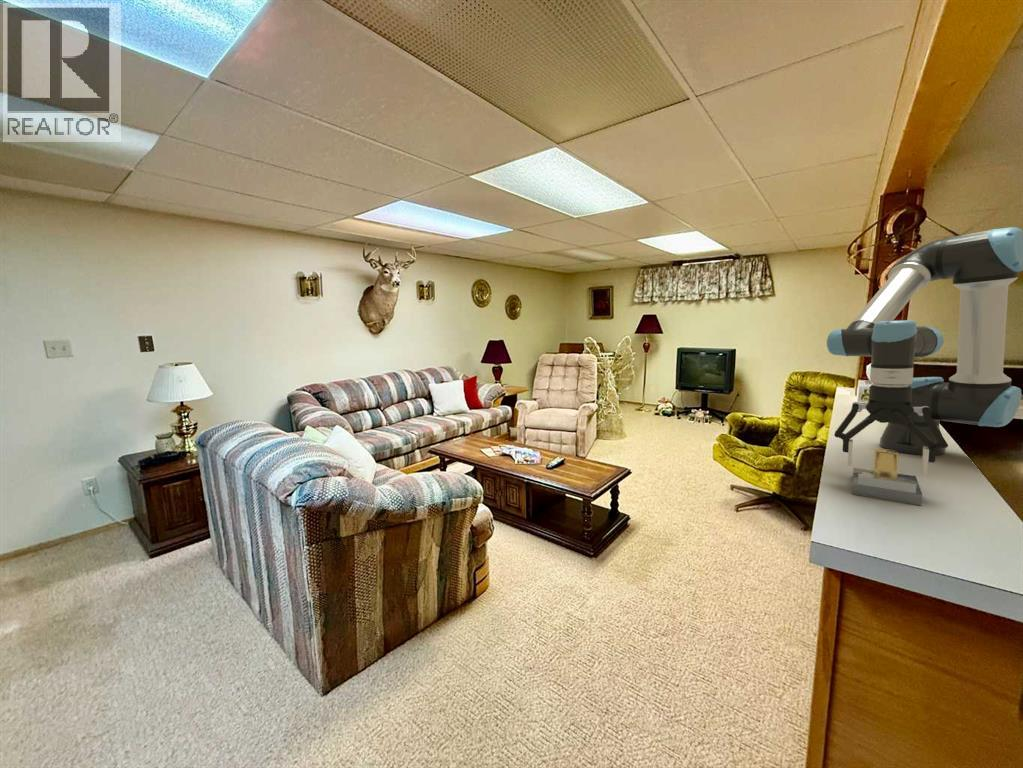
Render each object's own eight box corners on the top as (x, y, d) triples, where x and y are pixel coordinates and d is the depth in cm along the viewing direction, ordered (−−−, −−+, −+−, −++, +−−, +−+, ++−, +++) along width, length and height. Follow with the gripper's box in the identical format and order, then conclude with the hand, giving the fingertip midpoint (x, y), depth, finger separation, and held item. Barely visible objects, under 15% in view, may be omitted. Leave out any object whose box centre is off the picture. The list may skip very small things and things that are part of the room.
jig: (852, 476, 109) (853, 459, 109) (915, 485, 101) (916, 467, 101) (852, 494, 99) (853, 475, 98) (921, 505, 91) (922, 485, 90)
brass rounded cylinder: (868, 486, 103) (870, 448, 101) (887, 486, 102) (890, 448, 100) (880, 493, 98) (882, 454, 97) (901, 493, 97) (903, 454, 96)
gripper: (824, 384, 102) (820, 465, 105) (971, 389, 86) (962, 484, 88) (826, 381, 108) (823, 457, 110) (964, 384, 91) (956, 474, 94)
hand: (885, 469), depth 99 cm, fingers open, 13 cm apart
